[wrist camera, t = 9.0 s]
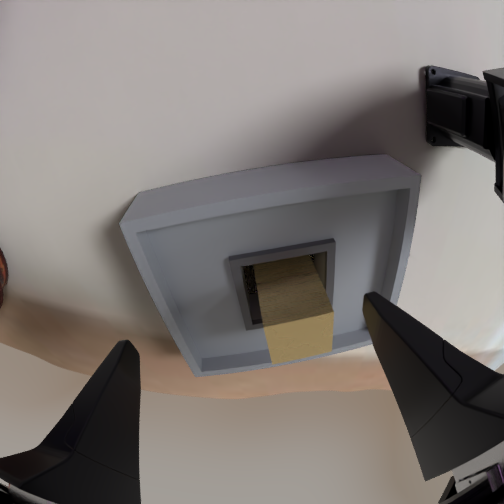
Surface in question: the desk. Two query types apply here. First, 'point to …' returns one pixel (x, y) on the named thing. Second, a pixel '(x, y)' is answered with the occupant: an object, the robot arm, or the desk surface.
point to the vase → (3, 275)
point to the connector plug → (294, 309)
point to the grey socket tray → (271, 249)
